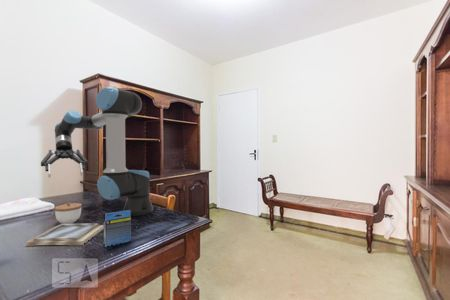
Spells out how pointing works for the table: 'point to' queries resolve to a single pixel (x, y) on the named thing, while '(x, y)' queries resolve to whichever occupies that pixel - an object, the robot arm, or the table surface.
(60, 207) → the lidded jar
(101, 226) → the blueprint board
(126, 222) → the label tape box
